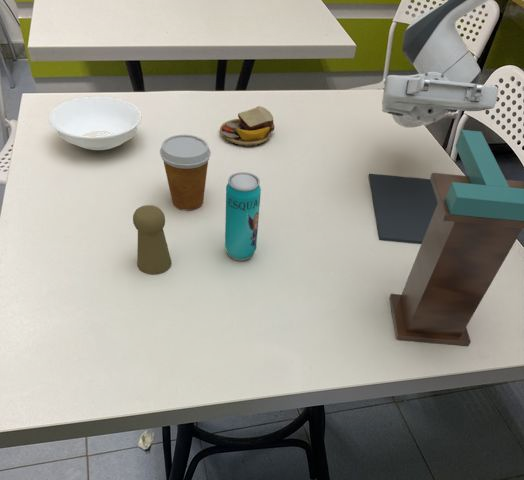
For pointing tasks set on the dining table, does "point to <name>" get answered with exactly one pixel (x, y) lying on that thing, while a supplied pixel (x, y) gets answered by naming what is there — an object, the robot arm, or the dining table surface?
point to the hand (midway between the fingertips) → (452, 87)
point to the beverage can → (242, 215)
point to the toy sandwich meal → (249, 127)
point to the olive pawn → (151, 240)
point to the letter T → (483, 184)
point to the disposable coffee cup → (186, 169)
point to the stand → (451, 270)
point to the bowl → (95, 121)
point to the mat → (402, 207)
